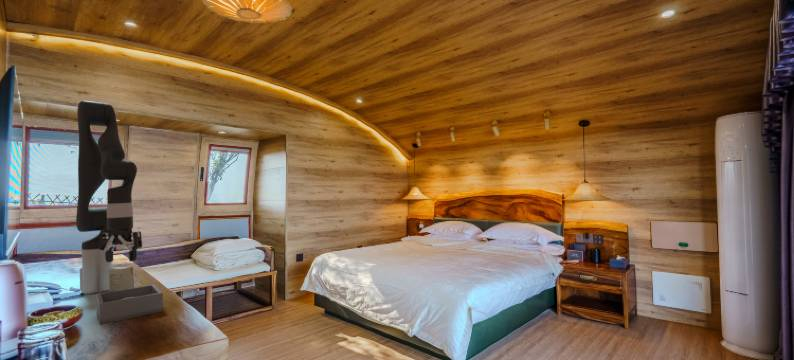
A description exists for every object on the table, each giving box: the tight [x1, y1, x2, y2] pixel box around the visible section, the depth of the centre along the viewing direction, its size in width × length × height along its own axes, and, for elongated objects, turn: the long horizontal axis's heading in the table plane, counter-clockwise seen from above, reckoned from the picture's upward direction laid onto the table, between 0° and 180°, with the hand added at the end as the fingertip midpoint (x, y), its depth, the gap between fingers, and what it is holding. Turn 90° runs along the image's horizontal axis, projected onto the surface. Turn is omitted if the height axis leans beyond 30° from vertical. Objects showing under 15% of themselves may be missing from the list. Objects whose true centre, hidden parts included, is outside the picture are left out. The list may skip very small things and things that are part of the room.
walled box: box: [96, 283, 164, 326], centre depth 122 cm, size 16×16×6 cm
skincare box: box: [108, 266, 135, 292], centre depth 134 cm, size 6×4×12 cm
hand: (121, 261), depth 134 cm, fingers open, 8 cm apart
